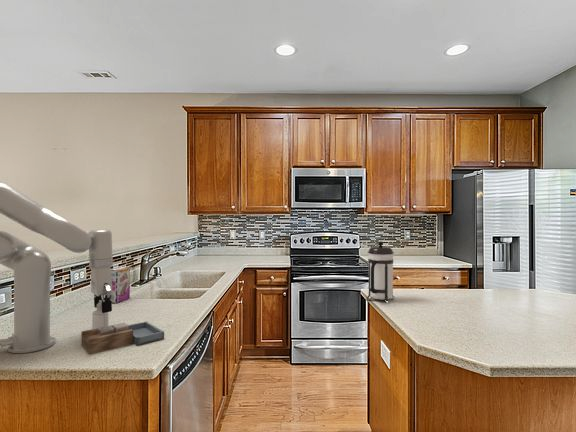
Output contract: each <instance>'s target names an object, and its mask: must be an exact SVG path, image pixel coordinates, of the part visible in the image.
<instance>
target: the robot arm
mask: <svg viewBox="0 0 576 432" xmlns="http://www.w3.org/2000/svg"><path fill="white" fill-rule="evenodd" d="M0 215H2V216H5V217H7V218H8V219H10V220H11V221H14V222H15V223H17V224H19V225H21V226H22V227H24V228H26V229H28V230H30V231H31V232H34V233H36V234H40V235H42V236H43V237H45V238H48V239H49V240H51V241H53V242H55V243H56V244H58V245H61V247H64V248H65V249H66V250H68V251H70V252H71V253H76V254H81V253H85V252H86V251H87V250H88V260H89V261H88V262H89V269H91V271H90V292H91V293H92V294H93V304H94V305H93V307H94V308H96V309H97V304H98V303H99V300H102V302H101V303H102V313H106V312H108V313H110V312H112V311H113V303H112V298H111V293H112V278H111V267H113V266H114V265H113V264H114V262H113V261H114V259H113V238H112V237H113V236H112V231H111V230H110V229H93V230H83V229H82V228H80V227H78V226H76V225H74V224H73V223H71V222H70V221H68V220H66V219H65V218H63V217H61V216H60V215H58V214H57V213H55V212H53V211H52V210H51V209H50V208H47V207H46V206H44V205H43V204H41V203H39V202H37V201H36V200H34V199H32V198H31V197H29V196H27V195H26V194H24V193H23V192H21V191H20V190H18V189H16V188H14V187H13V186H11V185H9V184H7V183H5V182H2V181H0ZM0 265H2V266H4V267H6V268H8V269H10V270H12V271H13V303H14V304H13V333H12V334H11V336H8V337H7V338H1V339H0V348H3V347H7V351H8V352H9V353H11V354H26V353H27V354H29V353H33V352H38V351H42V350H45V349H47V348H50V347H51V346H53V345H55V344H56V341H57V340H56V338H55V337H54V336H51V277H52V276H51V275H52V263H51V259H50V257H49V256H48V254H46V253H45V252H44V251H42V250H40V249H38V248H36V247H35V246H33V245H31V244H30V243H28V242H25V241H23V240H22V239H20V238H18V237H16V236H14V235H12V234H11V233H8V232H6V231H3V230H0Z"/></svg>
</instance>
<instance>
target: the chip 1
mask: <svg viewBox="0 0 576 432" xmlns="http://www.w3.org/2000/svg"><path fill="white" fill-rule="evenodd" d="M112 333H114V328H113V327H112V326H111V325H108V326H106V327H101V328H97V336H103V335H107V334H112Z"/></svg>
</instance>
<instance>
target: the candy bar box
mask: <svg viewBox="0 0 576 432" xmlns="http://www.w3.org/2000/svg"><path fill="white" fill-rule="evenodd" d="M110 269H111V268H110ZM111 278H112V293H111V298H112V304H118V303H121V302H124V301H126V300H128V299H130V298H131V291H130V290H131V287H130V286H131V267H129V266H128V267H127V266H121V267H117V268H112V269H111Z"/></svg>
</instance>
